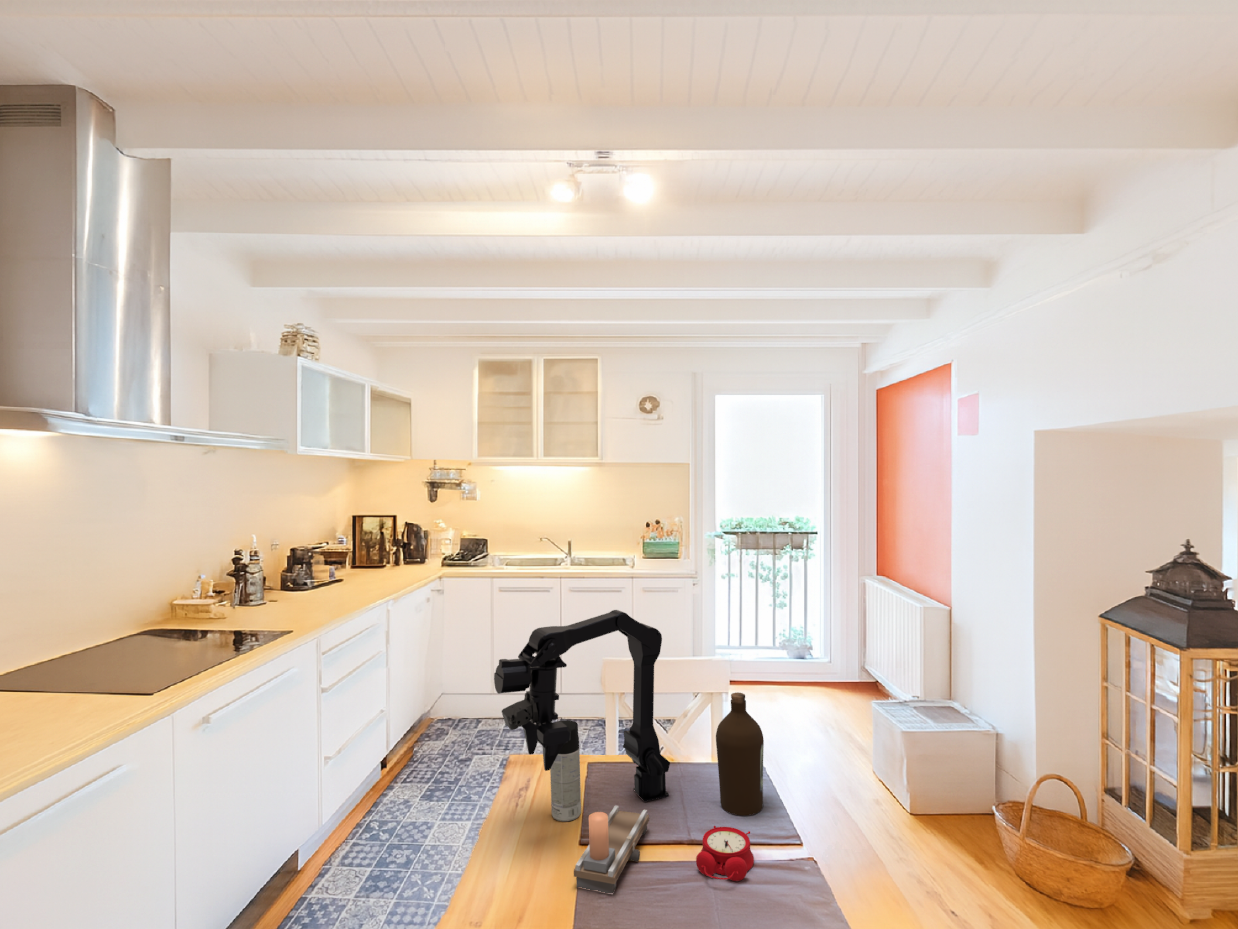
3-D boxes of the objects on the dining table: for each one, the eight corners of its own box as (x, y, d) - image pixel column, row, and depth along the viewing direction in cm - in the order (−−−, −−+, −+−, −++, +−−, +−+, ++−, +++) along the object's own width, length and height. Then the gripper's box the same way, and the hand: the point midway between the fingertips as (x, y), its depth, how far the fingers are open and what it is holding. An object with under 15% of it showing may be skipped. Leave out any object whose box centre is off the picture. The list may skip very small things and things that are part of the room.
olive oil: (722, 819, 142) (719, 704, 142) (714, 794, 153) (710, 687, 153) (771, 816, 142) (767, 702, 142) (759, 792, 153) (755, 685, 153)
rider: (593, 853, 125) (592, 808, 125) (615, 857, 124) (613, 812, 124) (583, 869, 120) (582, 822, 120) (606, 873, 119) (604, 825, 119)
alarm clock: (757, 828, 132) (745, 853, 118) (757, 863, 130) (745, 891, 117) (706, 820, 135) (689, 843, 122) (706, 854, 134) (688, 881, 120)
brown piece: (609, 823, 141) (609, 803, 142) (654, 831, 138) (653, 810, 138) (569, 886, 121) (568, 863, 121) (620, 896, 117) (619, 872, 117)
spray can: (583, 807, 149) (580, 719, 149) (578, 823, 142) (576, 731, 142) (554, 806, 150) (552, 719, 150) (548, 822, 143) (545, 731, 143)
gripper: (493, 680, 146) (489, 751, 145) (522, 705, 129) (518, 786, 129) (539, 675, 151) (536, 744, 150) (573, 699, 135) (569, 777, 134)
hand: (538, 762), depth 141 cm, fingers open, 9 cm apart
